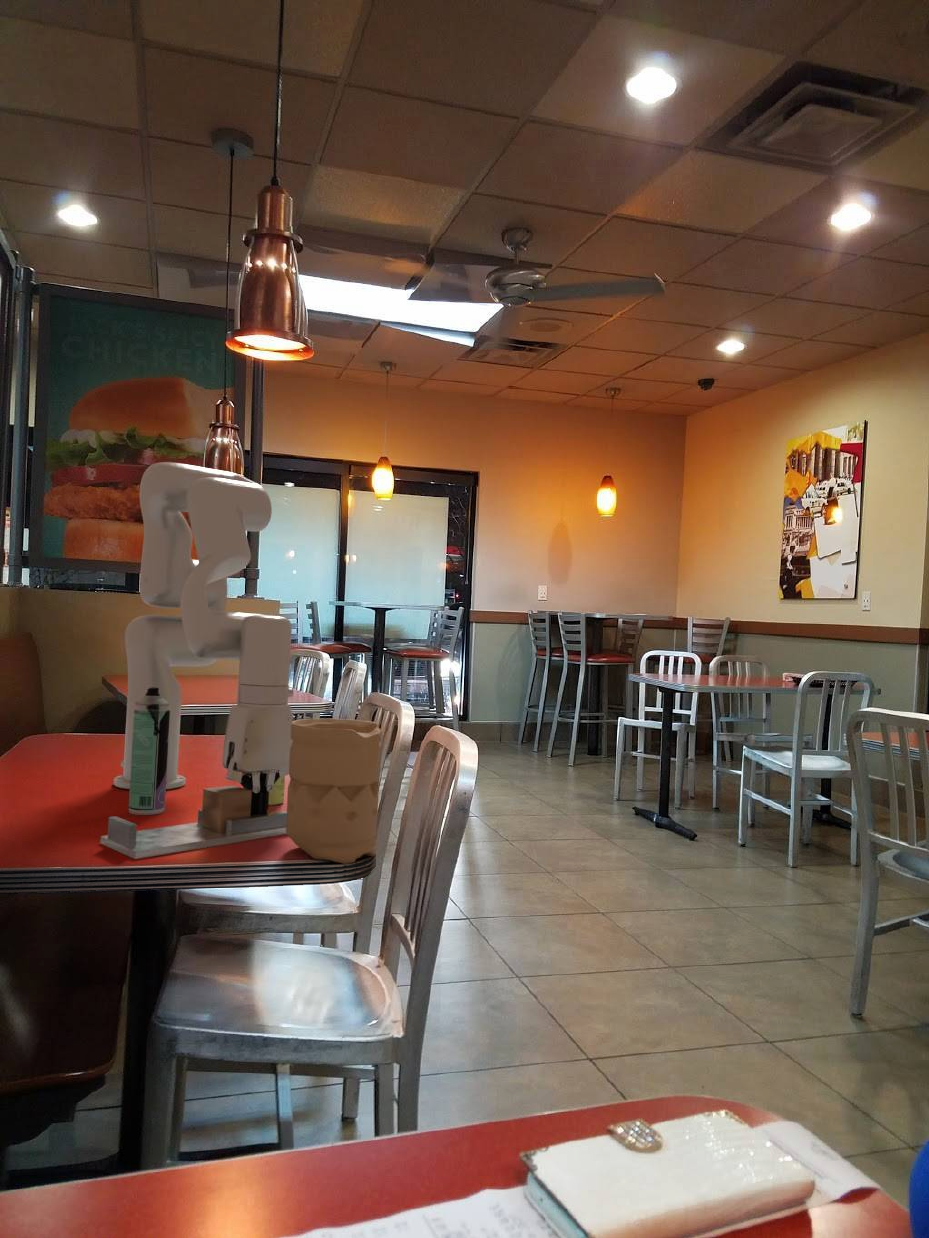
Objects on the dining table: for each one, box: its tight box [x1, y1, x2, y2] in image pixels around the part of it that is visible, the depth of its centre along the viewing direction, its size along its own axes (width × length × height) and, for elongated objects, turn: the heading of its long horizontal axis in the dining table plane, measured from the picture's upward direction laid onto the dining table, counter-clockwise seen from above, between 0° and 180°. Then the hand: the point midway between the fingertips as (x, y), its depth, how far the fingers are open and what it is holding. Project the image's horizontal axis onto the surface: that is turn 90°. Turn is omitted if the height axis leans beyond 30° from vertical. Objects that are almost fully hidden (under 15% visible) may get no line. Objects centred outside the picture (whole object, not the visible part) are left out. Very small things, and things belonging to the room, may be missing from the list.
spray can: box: [128, 687, 170, 816], centre depth 142 cm, size 6×6×20 cm
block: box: [201, 784, 252, 833], centre depth 130 cm, size 5×5×6 cm
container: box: [286, 717, 383, 865], centre depth 122 cm, size 13×13×18 cm
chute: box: [100, 808, 287, 860], centre depth 127 cm, size 10×25×4 cm, turn 137°
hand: (256, 816), depth 133 cm, fingers closed
